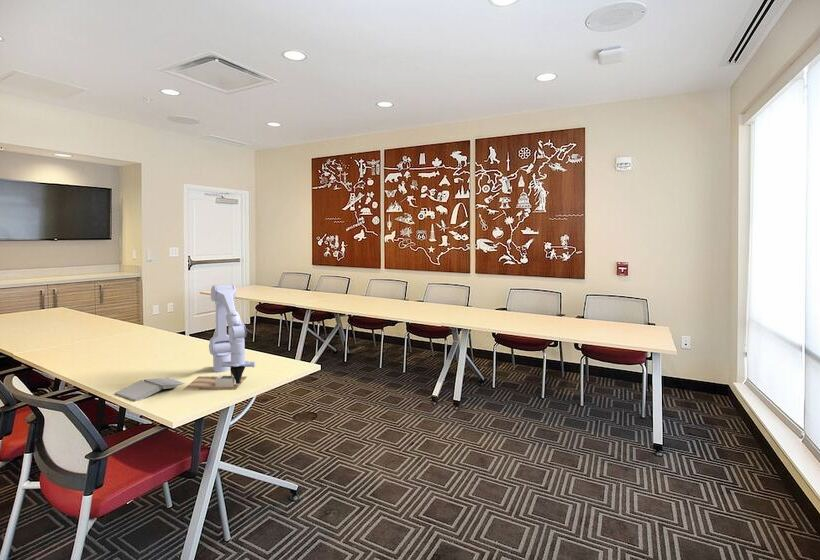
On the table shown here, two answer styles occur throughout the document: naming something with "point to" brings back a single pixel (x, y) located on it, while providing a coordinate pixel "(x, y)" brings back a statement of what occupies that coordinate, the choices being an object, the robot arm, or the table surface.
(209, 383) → the subfloor
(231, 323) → the robot arm
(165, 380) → the grey bent flat piece
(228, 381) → the white open box
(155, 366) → the table surface
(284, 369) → the table surface
